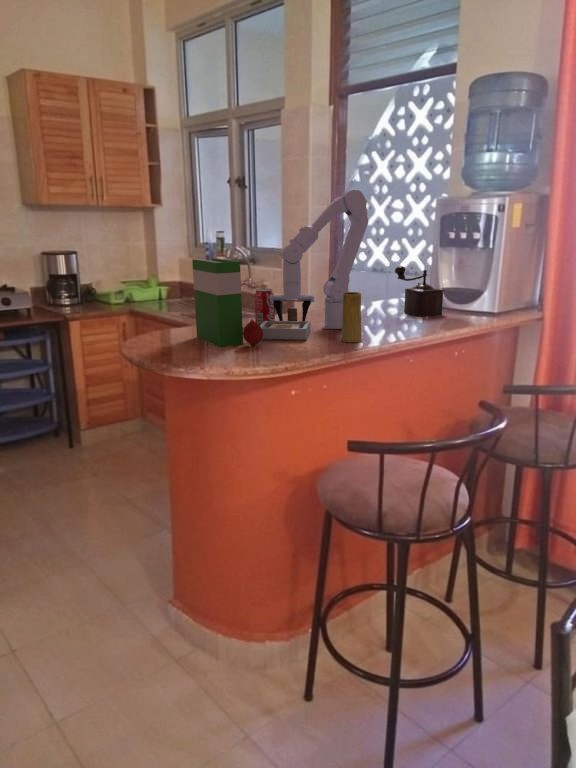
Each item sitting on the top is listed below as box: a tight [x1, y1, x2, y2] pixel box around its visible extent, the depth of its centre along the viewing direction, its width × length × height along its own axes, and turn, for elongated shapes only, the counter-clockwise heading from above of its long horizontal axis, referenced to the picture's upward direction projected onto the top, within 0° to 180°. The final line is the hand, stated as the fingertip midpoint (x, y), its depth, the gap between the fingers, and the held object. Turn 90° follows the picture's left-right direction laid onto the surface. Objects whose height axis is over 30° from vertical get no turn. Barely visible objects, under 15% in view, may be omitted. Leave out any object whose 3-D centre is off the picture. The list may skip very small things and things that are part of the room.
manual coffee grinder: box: [394, 265, 444, 318], centre depth 211 cm, size 16×11×18 cm
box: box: [260, 320, 311, 342], centre depth 177 cm, size 15×13×4 cm
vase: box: [340, 291, 363, 343], centre depth 167 cm, size 6×6×14 cm
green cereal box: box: [191, 257, 244, 348], centre depth 169 cm, size 18×7×24 cm, turn 31°
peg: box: [287, 307, 298, 321], centre depth 187 cm, size 3×3×7 cm
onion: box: [243, 318, 263, 347], centre depth 163 cm, size 6×6×8 cm
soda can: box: [253, 288, 276, 325], centre depth 197 cm, size 7×7×12 cm
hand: (292, 323), depth 188 cm, fingers open, 7 cm apart
